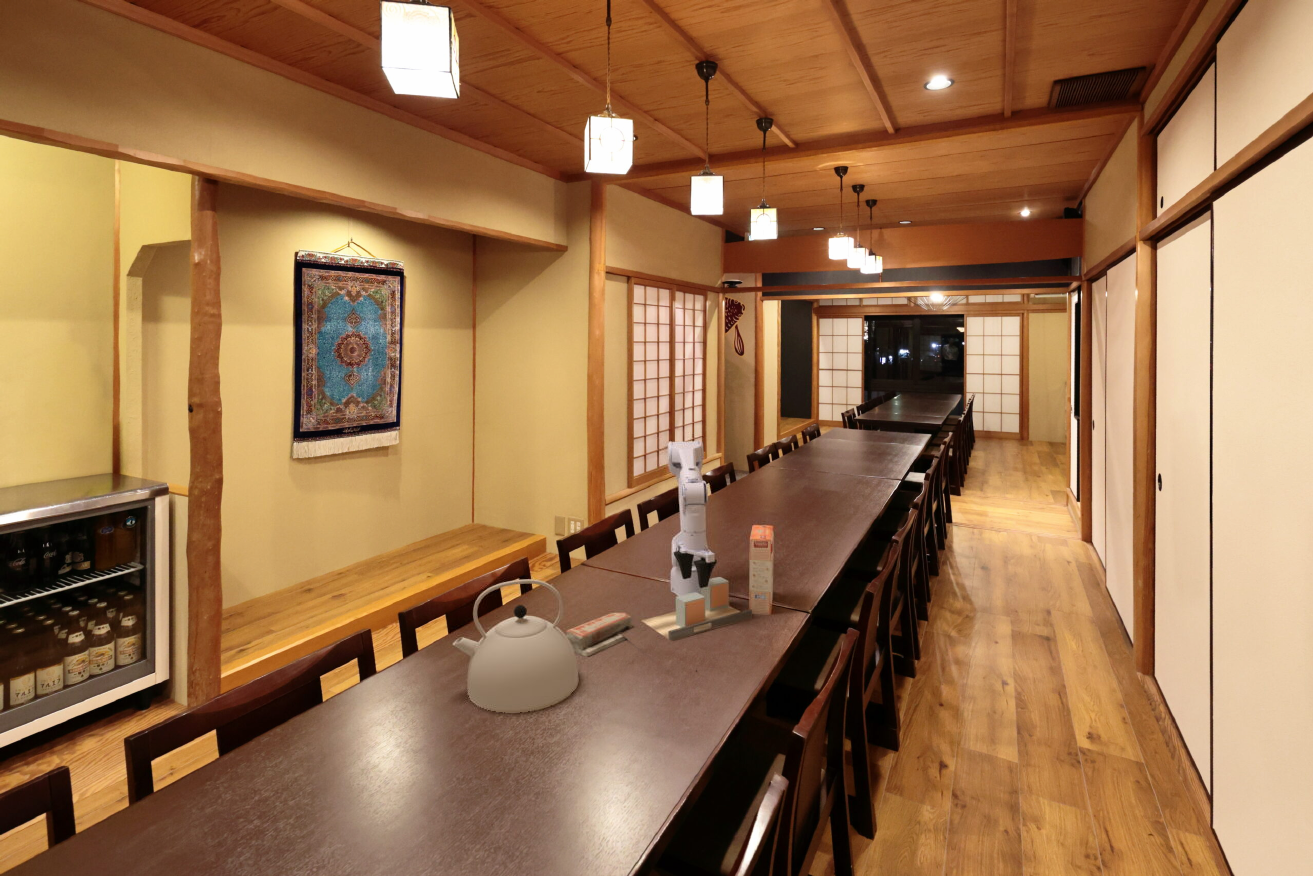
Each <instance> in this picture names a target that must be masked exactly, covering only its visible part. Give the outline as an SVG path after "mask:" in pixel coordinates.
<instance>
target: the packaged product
mask: <svg viewBox="0 0 1313 876" xmlns="http://www.w3.org/2000/svg"><path fill="white" fill-rule="evenodd" d="M632 620H633V619H632V616H630V615H629V614H627V612H610V613H609V614H605V615H603V616H600V617H598V618H595V619H593V620H590V621H588V622H585V623H583V624H579V625H578V626H575V627H572V628H569V629H567V630H566V631H565V635H566V637H567V638H568V639H569V641H570V643H571V645H572V647H573V649H574V652H575V654H578V655H580V656H582V655H583V657H585V658H588V657H590V656H592V655H595V654H596V653H599V652H601V651H603V650H604V651H605V650H606V649H608V648H611V647H612V646H615V645H618V644H620V643H622V642H624V641H626V640H628V639H627V637H626V636H624V635H623V634H622V633H623V632H625V631H627V630H630V629H631V628H632V627H633V624H632V622H633V621H632ZM640 629H641V627H640V628H639V630H640Z"/></svg>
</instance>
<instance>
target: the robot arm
mask: <svg viewBox="0 0 1313 876" xmlns="http://www.w3.org/2000/svg"><path fill="white" fill-rule="evenodd" d="M703 461H704V443H703V442H702V441H701V440H695V441H671V440H670V441H669V442H668V443H667V462H668V470H669V473H671V474H672V475H673V476H675V478H676V481H677V486H678V504H679V521H680V522H679V524H680V532H678V533H677V534H676V535H675V536H674V537H672V540H671V550H670V551H671V565H672V568H671V570H670V592H672V593H674V594H675V595H676V597H678V596H682V595H686V594H690V593H694V592H697V593H699V594H700V595H701V588H704V587H708V583H709V579H711V575H712V573H713V570H714V567H716V565H717V563H718V562H717V559H715V555H716V554H715V553H714V552H712V551H711V550H710V549H709V547H708V542H707V530H706V529H707V527H706V526H707V524H706V523H707V521H706V520H707V519H706V518H707V517H706V516H707V514H706V511H707V510H706V506H707V505H708V501H709V499H708V495H709V494H708V492H709V491H708V485H707V483H706V481H705V480H704V479H703V475H702V468H703V463H704V462H703Z"/></svg>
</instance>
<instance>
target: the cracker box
mask: <svg viewBox="0 0 1313 876" xmlns="http://www.w3.org/2000/svg"><path fill="white" fill-rule="evenodd" d="M774 536H775V535H774V526H773V525H769V524H764V525H760V524H754V525H752V528H751V533H750V537H749V575H748V577H749V578H748V579H749V583H748V585H749V587H748V588H749V591H748V593H749V595H748V597H749V598H748V599H749V600H748V601H749V602H748V609H751V610H752V615H766V616H767V615H770V616H771V615H772V610H773V599H774V561H775V560H774V555H775V554H774V553H775V552H774V549H775V547H774V545H775V543H774V541H775V540H774V538H775V537H774Z"/></svg>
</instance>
